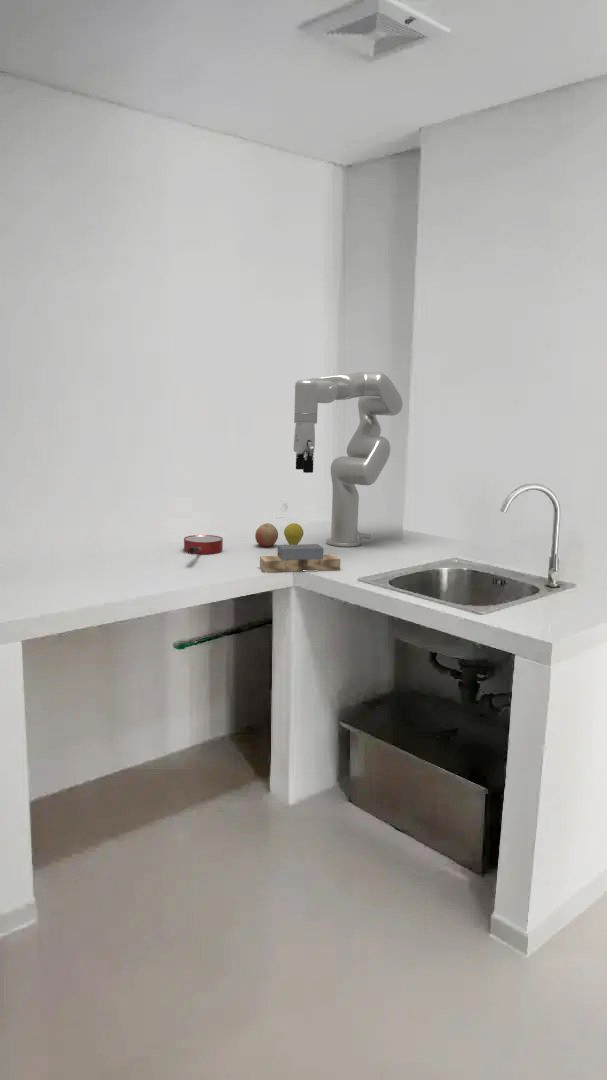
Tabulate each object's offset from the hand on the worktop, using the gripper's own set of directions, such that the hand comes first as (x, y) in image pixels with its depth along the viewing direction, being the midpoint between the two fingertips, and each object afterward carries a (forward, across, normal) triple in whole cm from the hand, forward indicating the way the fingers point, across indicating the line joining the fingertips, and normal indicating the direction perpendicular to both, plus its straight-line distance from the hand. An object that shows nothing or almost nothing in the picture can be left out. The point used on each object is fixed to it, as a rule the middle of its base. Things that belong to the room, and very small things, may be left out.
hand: (304, 470), depth 263 cm
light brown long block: (+28, +20, -6) cm, 35 cm away
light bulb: (+28, -4, -2) cm, 29 cm away
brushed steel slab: (+28, +20, -6) cm, 35 cm away
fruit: (+28, -15, -9) cm, 33 cm away
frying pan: (+29, -1, -34) cm, 44 cm away
